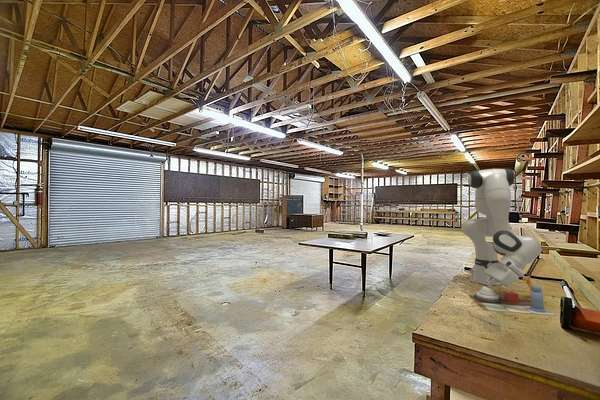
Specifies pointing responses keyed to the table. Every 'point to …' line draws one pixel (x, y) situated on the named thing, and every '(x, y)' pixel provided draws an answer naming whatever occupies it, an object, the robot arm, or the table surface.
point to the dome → (487, 293)
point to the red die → (511, 296)
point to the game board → (507, 306)
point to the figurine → (528, 282)
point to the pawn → (537, 299)
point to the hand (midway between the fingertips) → (486, 285)
